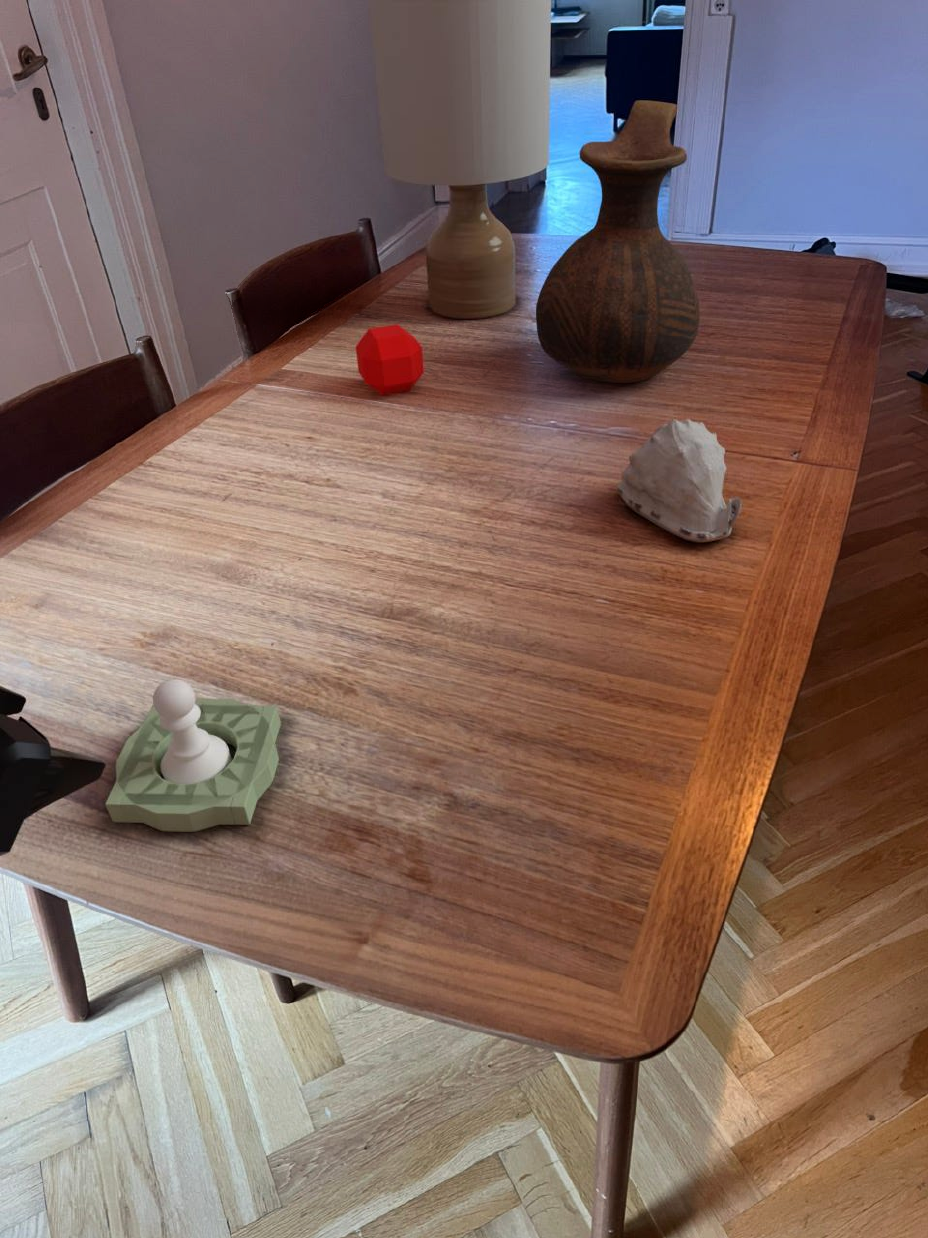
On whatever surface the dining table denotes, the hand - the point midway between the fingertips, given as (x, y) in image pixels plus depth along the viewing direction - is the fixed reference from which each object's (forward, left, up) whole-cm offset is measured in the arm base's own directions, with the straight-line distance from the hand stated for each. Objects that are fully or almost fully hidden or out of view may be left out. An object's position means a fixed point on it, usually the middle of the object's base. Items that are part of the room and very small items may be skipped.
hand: (60, 736), depth 55 cm
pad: (+4, +7, -11) cm, 14 cm away
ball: (+10, +75, -11) cm, 76 cm away
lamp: (+19, +106, -11) cm, 108 cm away
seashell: (+45, +44, -11) cm, 64 cm away
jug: (+40, +81, -11) cm, 91 cm away
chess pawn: (+4, +7, -11) cm, 14 cm away
